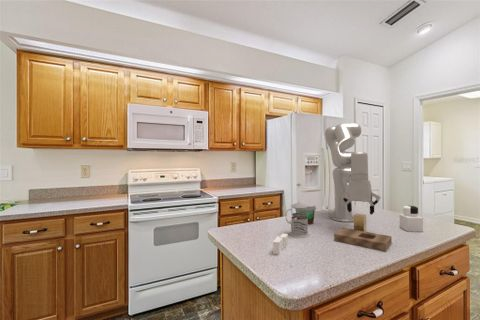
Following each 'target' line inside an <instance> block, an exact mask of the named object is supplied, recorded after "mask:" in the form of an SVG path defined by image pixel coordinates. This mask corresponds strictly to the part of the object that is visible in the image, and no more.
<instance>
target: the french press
mask: <svg viewBox="0 0 480 320" xmlns="http://www.w3.org/2000/svg"><path fill="white" fill-rule="evenodd" d="M296 186H297V187H301V186H302V185H301V183H298V182H297V184H296ZM290 207H291V208H289V209H287V210H286V212H285V214H284V215H285V220H286V222H287V224H289V225H291V226H290V229H291V230H290V232H289V235H290V236H291V237H293V238H294V237H295V238H308V237H310V236H311V234H310V233H309V231H308V230H309V228H308V227H309V224H308V218H307V217H305V216H307V215H306V214H304V213H300V212H299V213H296V212H293V213H292V209H294V208H296V209H306V208H307V207H308V205H307V204H305V203H301V202H296V203H293V204H292V205H291V206H290ZM296 209H295V210H296ZM289 211H290V212H291V213H292V214H291V218H290V219H291V222H290V221H288V219H287V213H288V212H289ZM297 218H300V219H302V220H299V219H297ZM302 223H303V224H302Z"/></svg>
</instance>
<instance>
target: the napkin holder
mask: <svg viewBox="0 0 480 320" xmlns="http://www.w3.org/2000/svg"><path fill="white" fill-rule="evenodd" d="M272 243H273V244H272V247H273V249H272V250H273V251H272V252H273V255H275V254H278V255H277V256H280V255H281V253H282V251H283V250H287V248H288V245H289V234H288V233H281V234H280V235H277V236H276V237H275V239H273V242H272ZM279 254H280V255H279Z"/></svg>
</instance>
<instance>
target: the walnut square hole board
mask: <svg viewBox="0 0 480 320" xmlns="http://www.w3.org/2000/svg"><path fill="white" fill-rule="evenodd" d="M333 236H334V237H333V238H334V239H333V240H334V242H339V243H344V244H349V245H353V246H357V247H363V248H366V249H367V248H368V249H372V250H378V251H382V252H387V251H388V249H389V248H390V246H391V245H392V244H393V243H392V239H393V237H392V236H391V235H387V234H381V233H375V232H369V231H366V232H364V231H359V230H354V228H353V229H351V228H348V227H347V228H346V227H342V228H340V229H339V230H338V231H336V232H335V233H333Z"/></svg>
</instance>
